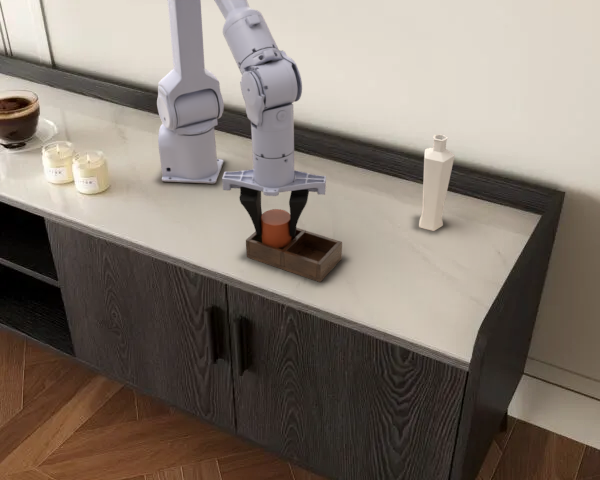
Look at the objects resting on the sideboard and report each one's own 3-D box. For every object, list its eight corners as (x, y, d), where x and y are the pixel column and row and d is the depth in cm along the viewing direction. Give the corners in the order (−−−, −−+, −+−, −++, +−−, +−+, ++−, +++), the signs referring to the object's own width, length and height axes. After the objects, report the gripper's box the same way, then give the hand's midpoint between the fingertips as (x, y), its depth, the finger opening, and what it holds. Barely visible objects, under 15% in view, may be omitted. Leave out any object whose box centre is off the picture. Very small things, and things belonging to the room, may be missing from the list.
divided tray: (246, 257, 114) (245, 240, 112) (270, 235, 118) (269, 218, 116) (320, 282, 109) (320, 265, 107) (341, 258, 113) (342, 241, 111)
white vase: (427, 212, 123) (436, 127, 114) (449, 223, 120) (460, 136, 111) (409, 223, 120) (417, 137, 111) (431, 234, 118) (441, 147, 109)
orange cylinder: (259, 247, 112) (258, 224, 109) (264, 230, 115) (262, 208, 113) (289, 248, 111) (289, 226, 109) (292, 232, 115) (292, 209, 112)
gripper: (215, 160, 101) (222, 244, 110) (323, 165, 100) (322, 249, 109) (224, 136, 107) (231, 218, 115) (327, 140, 106) (326, 222, 114)
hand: (276, 232), depth 112 cm, fingers closed on orange cylinder, 4 cm apart
